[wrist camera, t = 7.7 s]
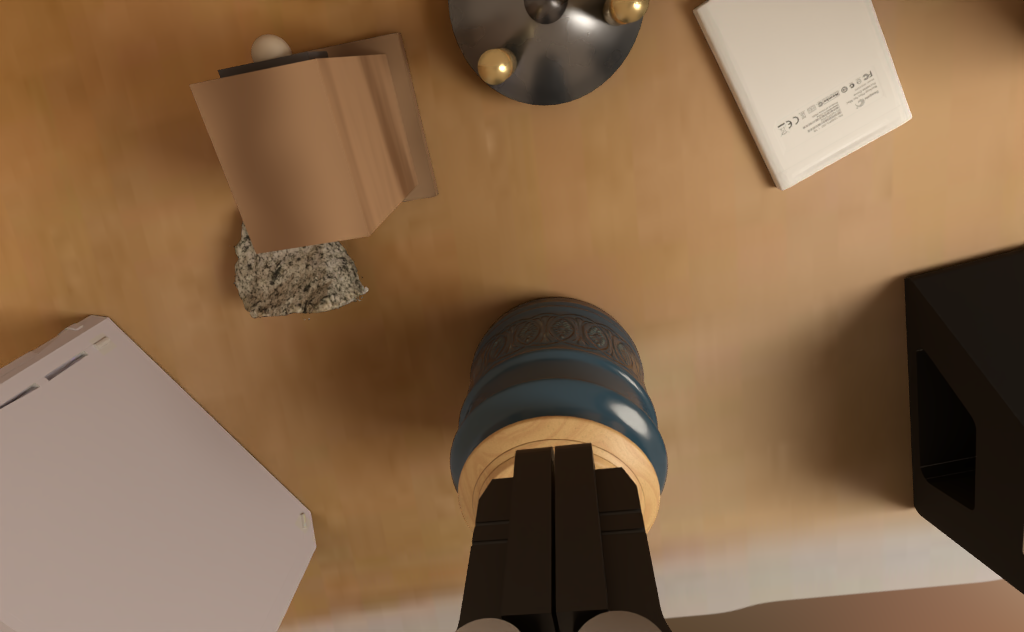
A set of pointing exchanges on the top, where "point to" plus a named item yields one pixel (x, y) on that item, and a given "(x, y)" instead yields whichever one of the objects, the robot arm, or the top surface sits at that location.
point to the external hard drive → (805, 78)
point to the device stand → (970, 406)
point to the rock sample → (295, 279)
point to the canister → (557, 400)
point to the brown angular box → (317, 139)
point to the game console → (133, 501)
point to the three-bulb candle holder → (546, 44)
